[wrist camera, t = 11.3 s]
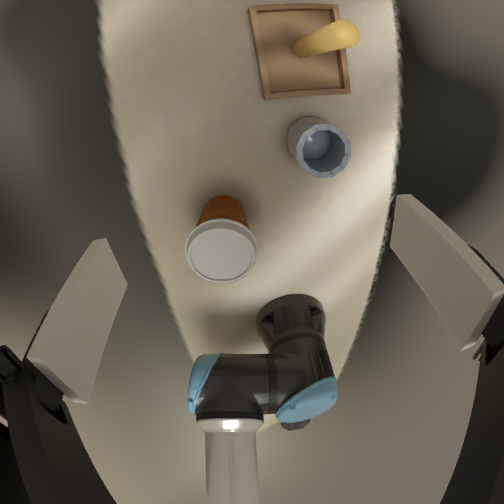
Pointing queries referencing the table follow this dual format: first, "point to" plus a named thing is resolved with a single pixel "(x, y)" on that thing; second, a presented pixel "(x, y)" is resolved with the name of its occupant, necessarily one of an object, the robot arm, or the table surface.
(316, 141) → the pen cup
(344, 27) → the dowel
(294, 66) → the tray
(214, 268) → the disposable coffee cup
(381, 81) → the table surface
